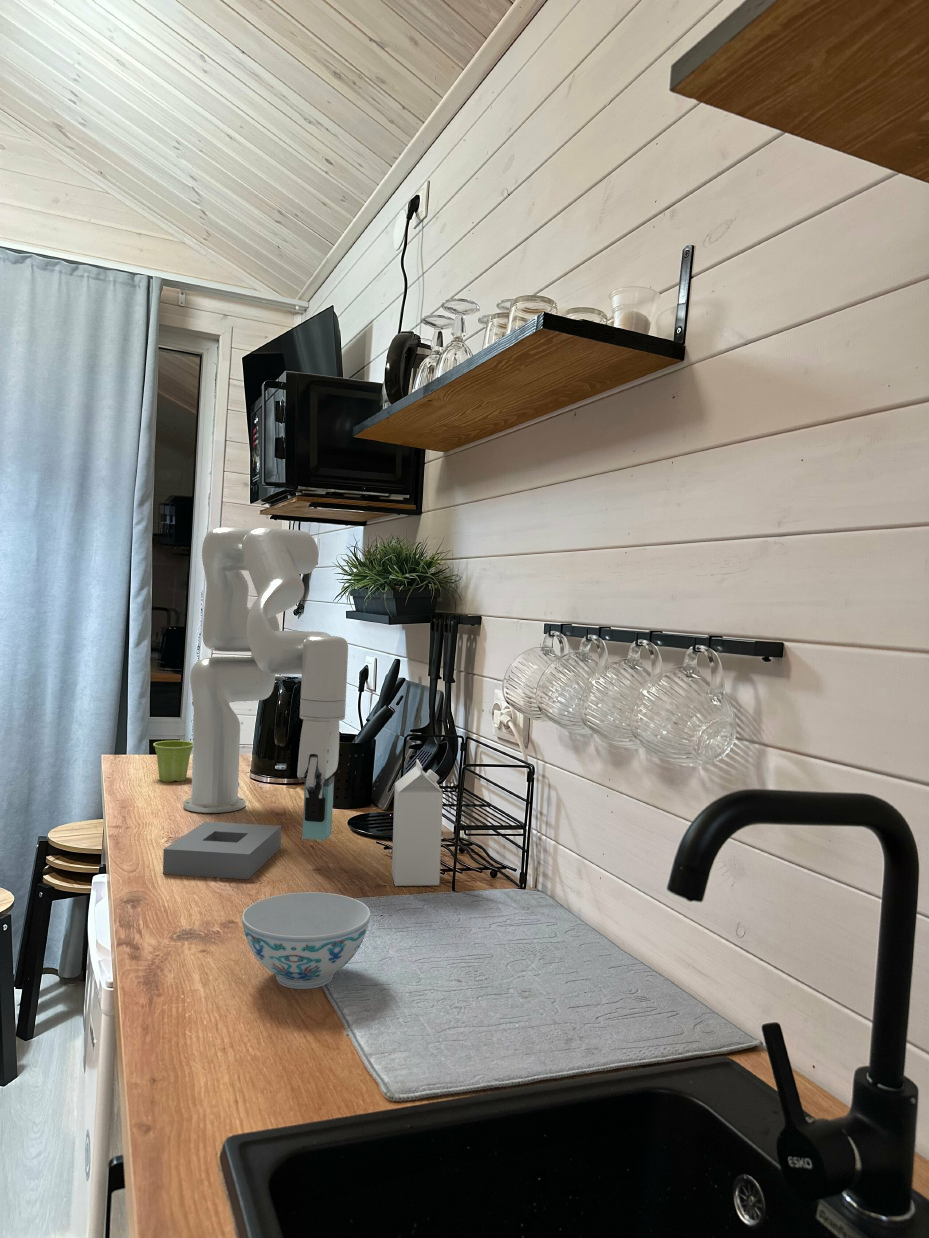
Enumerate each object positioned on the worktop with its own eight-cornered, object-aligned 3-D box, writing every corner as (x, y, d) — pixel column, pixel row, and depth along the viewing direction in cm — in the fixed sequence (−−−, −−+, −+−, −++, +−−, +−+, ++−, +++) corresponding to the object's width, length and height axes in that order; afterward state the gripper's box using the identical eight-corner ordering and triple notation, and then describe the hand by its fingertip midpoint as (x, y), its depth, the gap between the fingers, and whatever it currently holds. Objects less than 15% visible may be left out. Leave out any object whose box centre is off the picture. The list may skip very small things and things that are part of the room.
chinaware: (287, 943, 116) (289, 885, 116) (389, 966, 110) (392, 904, 110) (213, 988, 102) (215, 922, 102) (326, 1016, 97) (328, 946, 96)
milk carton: (394, 887, 141) (399, 767, 140) (391, 873, 148) (395, 758, 147) (439, 886, 142) (444, 767, 141) (434, 872, 149) (438, 759, 148)
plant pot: (200, 777, 217) (201, 742, 217) (180, 785, 208) (181, 748, 208) (166, 774, 219) (167, 739, 219) (144, 781, 210) (145, 745, 210)
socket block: (204, 843, 161) (205, 821, 161) (280, 848, 160) (281, 825, 160) (162, 873, 143) (163, 848, 143) (248, 879, 142) (249, 854, 142)
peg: (308, 831, 153) (310, 773, 152) (331, 833, 152) (334, 775, 152) (301, 838, 148) (304, 779, 148) (326, 840, 148) (328, 780, 148)
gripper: (313, 701, 158) (308, 803, 159) (287, 715, 141) (282, 829, 142) (354, 704, 158) (350, 806, 158) (333, 718, 141) (328, 832, 142)
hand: (317, 816), depth 150 cm, fingers closed on peg, 4 cm apart
